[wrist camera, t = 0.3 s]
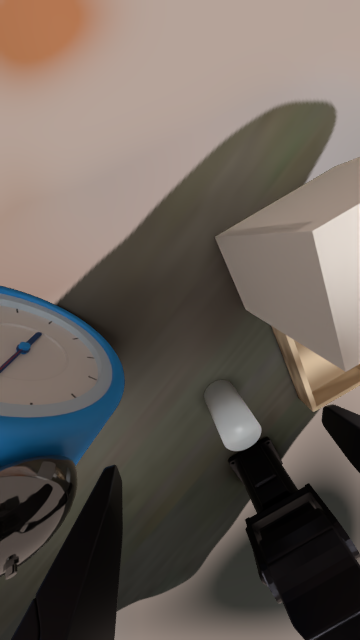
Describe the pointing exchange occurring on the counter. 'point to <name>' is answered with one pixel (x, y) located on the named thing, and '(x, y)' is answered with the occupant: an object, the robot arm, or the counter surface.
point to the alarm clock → (46, 416)
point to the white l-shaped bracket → (305, 264)
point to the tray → (315, 374)
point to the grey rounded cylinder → (231, 416)
